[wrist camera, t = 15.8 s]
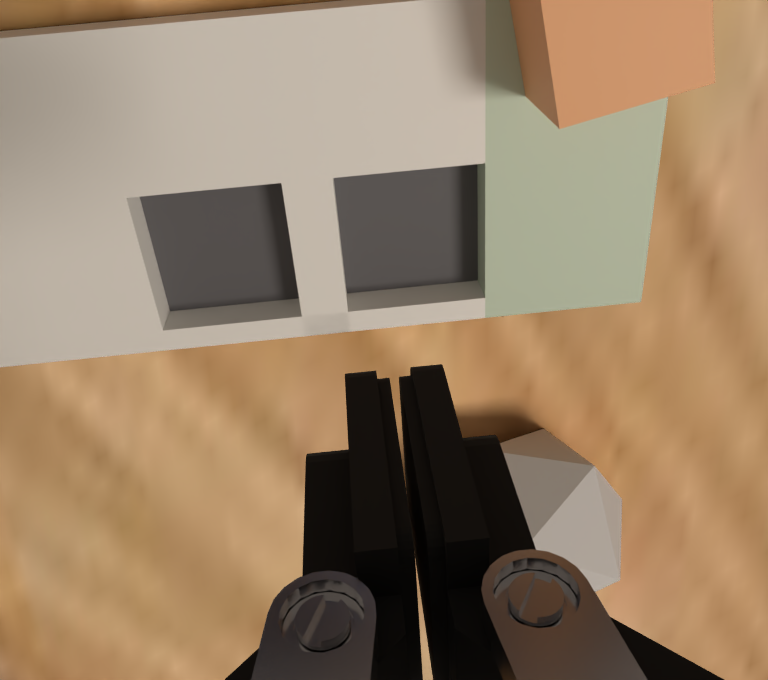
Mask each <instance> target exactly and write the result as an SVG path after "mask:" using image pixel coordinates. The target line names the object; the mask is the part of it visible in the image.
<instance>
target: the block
mask: <svg viewBox="0 0 768 680" xmlns="http://www.w3.org/2000/svg"><path fill="white" fill-rule="evenodd" d="M509 2H510V7H511V13H512V19H513V25H514V31H515V37H516V43H517V49H518V55H519V61H520V67H521V73H522V79H523V85H524V91H525V96H526V97H527V98H528V99H529V100H530V101H531V102H532V103H533V104H534V105H535V106H536V107H537V108H538V109H539V110H540V111H541V112H542V113H543V114H544V115H545V116H546V117H547V118H548V119H550V120H551V121H552V122H553V123H554V124H555V125H556V126H557V127H558V128H559V129H562V128H565V127H568V126H572V125H575V124H579V123H582V122H585V121H589V120H592V119H595V118H599V117H602V116H605V115H609V114H612V113H616V112H619V111H622V110H626V109H629V108H632V107H636V106H639V105H642V104H646V103H649V102H653V101H656V100H659V99H663V98H666V97H669V96H673V95H676V94H679V93H683V92H686V91H689V90H693V89H696V88H700V87H703V86H706V85H710V84H713V83H715V60H714V25H713V0H509Z"/></svg>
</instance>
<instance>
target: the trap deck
mask: <svg viewBox="0 0 768 680" xmlns="http://www.w3.org/2000/svg"><path fill="white" fill-rule="evenodd" d="M667 102H668V97H666V98H663V99H659V100H656V101H653V102H649V103H646V104H642V105H639V106H636V107H632V108H629V109H626V110H622V111H619V112H616V113H612V114H609V115H605V116H602V117H599V118H595V119H592V120H589V121H585V122H582V123H579V124H575V125H572V126H568V127H565V128H562V129H559V128H558V127H557V126H556V125H555V124H554V123H553V122H552V121H551V120H550V119H548V118H547V117H546V116H545V115H544V114H543V113H542V112H541V111H540V110H539V109H538V108H537V107H536V106H535V105H534V104H533V103H532V102H531V101H530V100H529V99H528V98H527V97H526V96H525V91H524V85H523V79H522V73H521V67H520V61H519V55H518V49H517V43H516V37H515V31H514V25H513V19H512V13H511V7H510V2H509V0H341V1H330V2H318V3H307V4H296V5H285V6H274V7H263V8H252V9H241V10H230V11H219V12H208V13H196V14H185V15H174V16H163V17H152V18H141V19H130V20H119V21H108V22H97V23H86V24H75V25H63V26H52V27H41V28H30V29H19V30H8V31H0V367H7V366H17V365H27V364H37V363H47V362H56V361H66V360H76V359H86V358H96V357H105V356H115V355H125V354H135V353H145V352H154V351H164V350H174V349H184V348H194V347H204V346H213V345H223V344H233V343H243V342H253V341H262V340H272V339H282V338H292V337H302V336H312V335H321V334H331V333H341V332H351V331H361V330H370V329H380V328H390V327H400V326H410V325H420V324H429V323H439V322H449V321H459V320H469V319H478V318H488V317H498V316H508V315H518V314H527V313H537V312H547V311H557V310H567V309H577V308H586V307H596V306H606V305H616V304H626V303H635V302H641V298H642V291H643V283H644V276H645V268H646V261H647V253H648V246H649V238H650V230H651V223H652V215H653V208H654V200H655V193H656V185H657V177H658V170H659V162H660V155H661V147H662V140H663V132H664V125H665V117H666V109H667Z"/></svg>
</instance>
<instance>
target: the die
mask: <svg viewBox="0 0 768 680" xmlns="http://www.w3.org/2000/svg"><path fill="white" fill-rule="evenodd" d="M500 445H501V448H502V451H503V454H504V457H505V459H506V462H507V465H508V468H509V471H510V474H511V477H512V480H513V483H514V486H515V489H516V492H517V495H518V498H519V501H520V504H521V507H522V510H523V513H524V515H525V518H526V521H527V524H528V527H529V530H530V533H531V536H532V539H533V542H534V545H535V548H536V550H541V551H548V552H551V553H553V554H556V555H558V556H561V557H564V558H565V559H566V560H568V561H569V562H571V563H572V564H574V565H575V566H576V567H578V569H579V570H580V571H581V572H582V573H583V575H584V576H585V577H586V578H587V580H588V581H589V583H590V585H591V586H592V588H593V590H594V591H595V592H596V591H598V590H600V589H602V588H604V587H607V586H609V585H611V584H613V583H615V582H617V581H619V580H620V563H621V521H622V499H621V498H620V496H619V495H618V494H617V493H616V491H615V490H614V489H613V488H612V487H611V485H610V484H609V483H608V482H607V480H606V479H605V478H604V477H603V476H602V474H601V473H600V472H599V471H598V470H597V468H596V467H595V466H594V465H593V464H591V463H590V462H589V461H587V460H586V459H585V458H583V457H582V456H580V455H579V454H578V453H576V452H575V451H574V450H572V449H571V448H570V447H568V446H567V445H566V444H564V443H563V442H561V441H560V440H559V439H557V438H556V437H555V436H553V435H552V434H551V433H549V432H548V431H546V430H545V429H541V430H538V431H535V432H532V433H529V434H526V435H523V436H520V437H517V438H514V439H511V440H508V441H505V442H502V443H500Z"/></svg>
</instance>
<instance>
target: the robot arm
mask: <svg viewBox="0 0 768 680" xmlns="http://www.w3.org/2000/svg"><path fill="white" fill-rule="evenodd" d="M410 375H411V376H404V377H399V386H400V401H401V416H402V431H403V445H404V460H405V475H406V487H405V480H404V473H403V467H402V460H401V453H400V446H399V439H398V433H397V426H396V419H395V412H394V406H393V399H392V392H391V385H390V379H389V378H383V379H377V374H376V371H369V372H359V373H348V374H345V386H346V406H347V425H348V444H349V450H340V451H331V452H321V453H311V454H307V456H306V474H305V510H304V546H303V576H302V577H299V578H297V579H296V580H294V581H293V582H291V583H290V584H288V585H287V586H285V587H284V588H283V589H282V590H281V592H280V593H279V594H278V595H277V596H276V597H275V599H274V600H273V602H272V605H271V607H270V609H269V612H268V614H267V618H266V622H265V626H264V630H263V634H262V638H261V642H260V646H259V649H257V650H256V651H255V652H254V653H253V654H252V655H251V656H250V657H249V658H248V659H247V660H245V661H244V662H243V663H242V664H241V665H240V666H239V667H238V668H237V669H236V670H235V671H234V672H232V673H231V674H230V675H229V676H228V677H227V678H226V679H225V680H423V676H422V661H421V645H420V629H419V613H418V598H417V582H416V566H415V559H416V565H417V572H418V579H419V586H420V593H421V599H422V606H423V613H424V620H425V627H426V633H427V640H428V647H429V654H430V661H431V667H432V674H433V680H724V679H722V678H720V677H718V676H716V675H715V674H713V673H711V672H709V671H707V670H706V669H704V668H702V667H700V666H698V665H696V664H695V663H693V662H691V661H689V660H687V659H686V658H684V657H682V656H680V655H678V654H676V653H675V652H673V651H671V650H669V649H667V648H666V647H664V646H662V645H660V644H658V643H656V642H655V641H653V640H651V639H649V638H647V637H646V636H644V635H642V634H640V633H638V632H636V631H635V630H633V629H631V628H629V627H627V626H626V625H624V624H622V623H620V622H618V621H616V620H615V619H613V618H611V617H610V616H609V615H608V613H607V611H606V610H605V608H604V606H603V605H602V603H601V601H600V600H599V598H598V596H597V595H596V593H595V591H594V590H593V588H592V586H591V585H590V583H589V581H588V580H587V578H586V577H585V576H584V575H583V573H582V572H581V571H580V570H579V569H578V567H576V566H575V565H574V564H572V563H571V562H569V561H568V560H566V559H565V558H564V557H561V556H558V555H556V554H553V553H551V552H548V551H541V550H536V548H535V545H534V542H533V539H532V536H531V533H530V530H529V527H528V524H527V521H526V518H525V515H524V513H523V510H522V507H521V504H520V501H519V498H518V495H517V492H516V489H515V486H514V483H513V480H512V477H511V474H510V471H509V468H508V465H507V462H506V459H505V457H504V454H503V451H502V448H501V445H500V442H499V440H498V437H497V436H496V435H489V436H479V437H469V438H462V435H461V431H460V427H459V424H458V420H457V416H456V413H455V409H454V405H453V401H452V398H451V394H450V390H449V387H448V383H447V379H446V376H445V372H444V368H443V365H442V364H440V365H430V366H420V367H411V369H410ZM406 490H407V494H406ZM414 552H415V553H414Z"/></svg>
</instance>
